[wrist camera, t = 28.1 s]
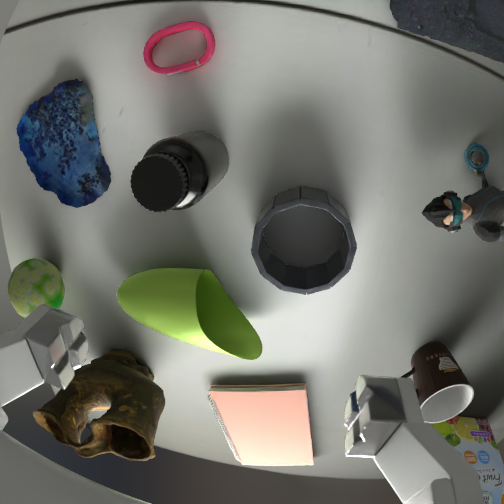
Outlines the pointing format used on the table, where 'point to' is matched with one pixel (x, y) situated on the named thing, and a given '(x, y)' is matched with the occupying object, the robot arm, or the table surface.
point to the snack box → (477, 452)
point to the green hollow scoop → (189, 310)
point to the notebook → (265, 423)
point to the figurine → (471, 205)
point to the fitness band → (172, 30)
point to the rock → (65, 145)
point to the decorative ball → (35, 286)
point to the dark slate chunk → (456, 23)
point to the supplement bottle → (179, 171)
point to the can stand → (298, 276)
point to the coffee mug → (439, 383)
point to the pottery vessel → (107, 408)
